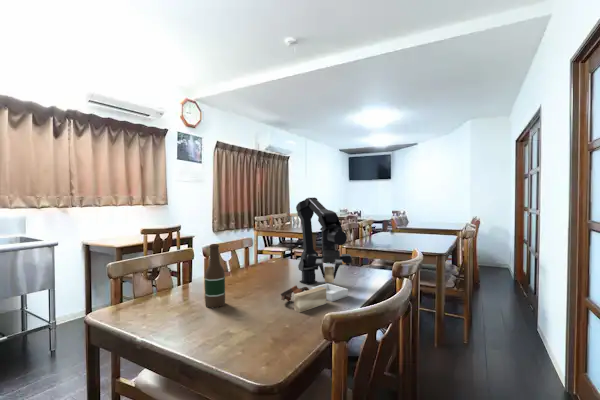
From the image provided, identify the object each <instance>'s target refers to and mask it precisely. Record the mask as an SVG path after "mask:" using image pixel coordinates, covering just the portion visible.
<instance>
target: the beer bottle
mask: <svg viewBox="0 0 600 400" xmlns="http://www.w3.org/2000/svg"><path fill="white" fill-rule="evenodd" d="M219 247H220V245H219V244H218V243H210V244H209V249H210V250H209V264H208V266H207V267H206V269H205V271H204V272H205V273H204V303H205V307H207V306H208V307H207V308H209V307H218V308H220V307H219V306H221V307H223V306H224V305H225V303H226V276H225V274H226V273H225V270H224V267H223V266H222V265H221V261H220V251H219Z"/></svg>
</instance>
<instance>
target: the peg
mask: <svg viewBox="0 0 600 400" xmlns="http://www.w3.org/2000/svg"><path fill="white" fill-rule="evenodd" d="M323 267H324V275H325V279H324V282H325V283H326V284H327V283H328V284H332V283H334V282H335V279H334V267H335V266H329V265H328V266H323Z"/></svg>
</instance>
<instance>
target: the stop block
mask: <svg viewBox="0 0 600 400" xmlns="http://www.w3.org/2000/svg"><path fill="white" fill-rule="evenodd" d="M293 304H294V305H293V306H294V309H293V310H294V311H295V312H297V313H302V312H306V311H308V310H311V309H314V308H318V307H320V306H323V305H327V300H326V288H324V287H318V288H315V289H311V288H310V289H309V290H308V291H305V290H304V292H300V293H297V294H294V293H293Z"/></svg>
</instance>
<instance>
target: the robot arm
mask: <svg viewBox="0 0 600 400" xmlns="http://www.w3.org/2000/svg"><path fill="white" fill-rule="evenodd" d="M295 210H296V213H297V216H298V218H299V220H300V221H301V230H302V232H301V233H302V243H303V251H302V252H301V256H300V258H301V259H300V260H299V263H298V265H297V266H298V270H299V271H301V280H299V283H301V284H305V285H313V284H316V283H318V280H316V271H318V270H319V269H320V272H321V276H322V279H323V280H325V275H324V267H325V266H324V263H325V264H327V263H332V264H334V266H333V267H334V280H335V279H336V276H337V273H338V270H339V268H340V266H342V265H343V263H344V264H352V261H353V260H352V259H353V258H352V255H351V254H350V253H341V251H340V249H339V250H337V249H336V248H337V247H336V245H337V246H343V245H345V243H347V239H348V237H347V235H346V234H347V233H346V232H345V231H343V226H342V223H341V221H340V219H339V215H338V214H337V213H336V212H335V211H333V210H331V209H327V208H326V207H325V206H324V205H323V204H322V203H321V202H320V201H319V200H318V198H317V197H307V198H305V199H304V200H301V201H298V203H297V204H296V207H295ZM314 214H315V215H316V216H317V217H318V218H317V219H318V220H317V221H318V223H319V224H320V226H321V228H320V229H319V230H320V231H321V255H319V253H318V252H317V251H316V250H315V248H314V239H313V237H314V236H313V229H312V227H313V226H312V218H313V217H314Z"/></svg>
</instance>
